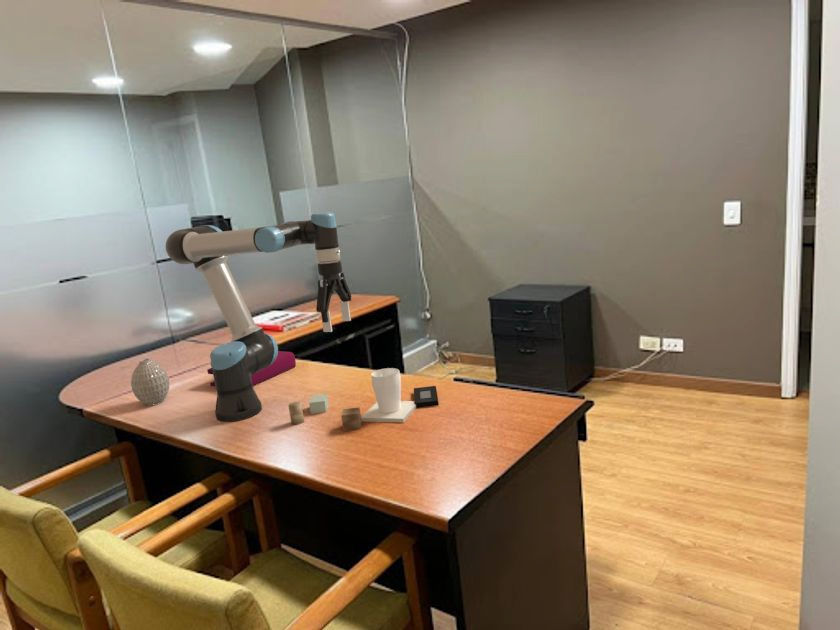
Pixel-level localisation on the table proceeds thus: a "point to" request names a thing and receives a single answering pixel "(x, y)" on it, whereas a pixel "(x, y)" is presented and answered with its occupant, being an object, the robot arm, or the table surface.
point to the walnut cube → (351, 419)
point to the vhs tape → (425, 397)
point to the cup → (387, 389)
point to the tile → (397, 416)
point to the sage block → (318, 403)
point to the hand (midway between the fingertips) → (337, 326)
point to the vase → (150, 382)
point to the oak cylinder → (296, 413)
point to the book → (271, 368)
